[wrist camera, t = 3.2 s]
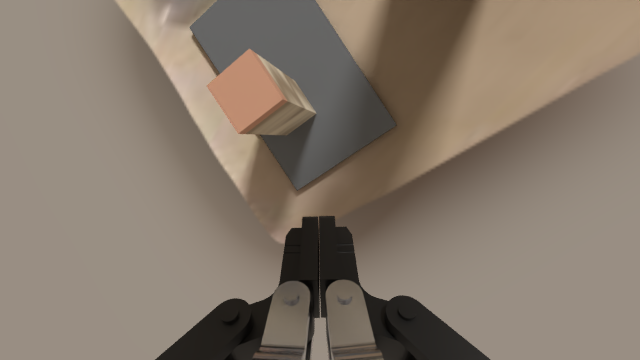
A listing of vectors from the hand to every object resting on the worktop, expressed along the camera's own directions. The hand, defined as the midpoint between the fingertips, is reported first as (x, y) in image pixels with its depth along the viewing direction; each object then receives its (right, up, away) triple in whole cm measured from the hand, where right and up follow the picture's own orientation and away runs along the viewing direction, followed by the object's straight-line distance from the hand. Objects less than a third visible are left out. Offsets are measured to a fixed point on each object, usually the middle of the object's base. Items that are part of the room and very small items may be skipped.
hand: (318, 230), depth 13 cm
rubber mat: (-4, +15, +20) cm, 25 cm away
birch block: (-3, +11, +20) cm, 23 cm away
